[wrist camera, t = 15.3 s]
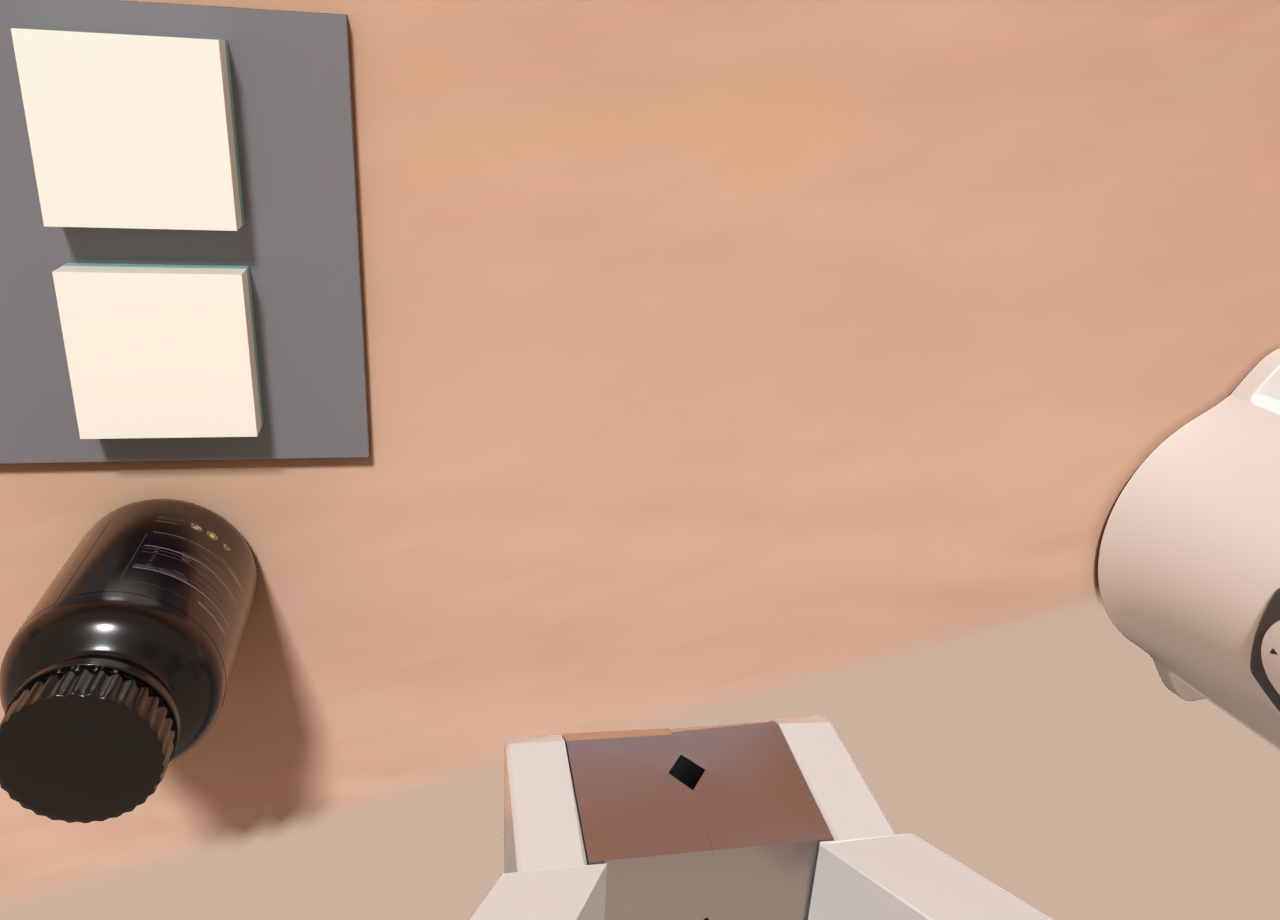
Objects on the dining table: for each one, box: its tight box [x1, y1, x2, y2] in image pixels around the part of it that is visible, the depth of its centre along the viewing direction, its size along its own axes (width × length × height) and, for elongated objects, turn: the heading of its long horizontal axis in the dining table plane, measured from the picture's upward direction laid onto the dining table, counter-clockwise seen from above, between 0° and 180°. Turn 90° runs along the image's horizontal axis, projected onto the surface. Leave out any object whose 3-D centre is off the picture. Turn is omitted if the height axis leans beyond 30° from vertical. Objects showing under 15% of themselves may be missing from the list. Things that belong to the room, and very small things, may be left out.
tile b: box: [11, 28, 245, 231], centre depth 33 cm, size 2×6×6 cm
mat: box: [0, 0, 370, 464], centre depth 35 cm, size 16×16×1 cm
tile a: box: [52, 263, 264, 439], centre depth 36 cm, size 2×6×6 cm
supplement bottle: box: [0, 499, 257, 823], centre depth 35 cm, size 7×7×12 cm
